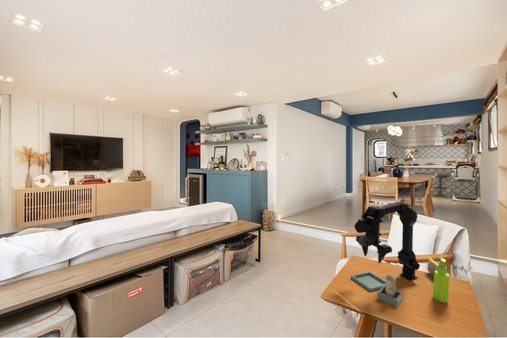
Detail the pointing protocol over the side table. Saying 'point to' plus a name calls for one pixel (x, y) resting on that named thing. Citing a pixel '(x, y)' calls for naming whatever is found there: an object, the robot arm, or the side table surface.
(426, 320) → the side table surface
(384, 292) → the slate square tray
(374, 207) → the robot arm
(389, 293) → the rounded wooden peg
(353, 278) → the green-grey tray
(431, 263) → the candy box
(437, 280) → the soap dispenser
